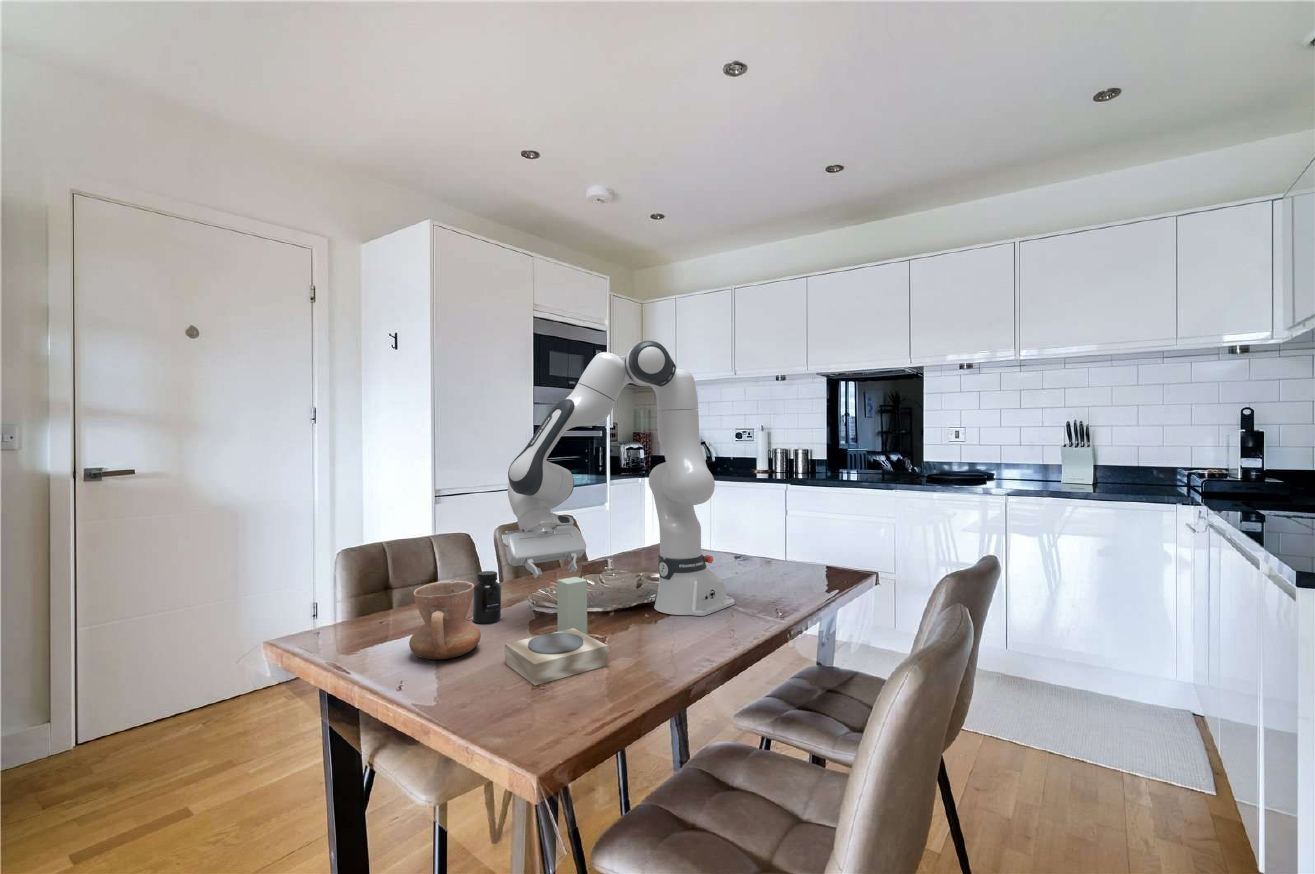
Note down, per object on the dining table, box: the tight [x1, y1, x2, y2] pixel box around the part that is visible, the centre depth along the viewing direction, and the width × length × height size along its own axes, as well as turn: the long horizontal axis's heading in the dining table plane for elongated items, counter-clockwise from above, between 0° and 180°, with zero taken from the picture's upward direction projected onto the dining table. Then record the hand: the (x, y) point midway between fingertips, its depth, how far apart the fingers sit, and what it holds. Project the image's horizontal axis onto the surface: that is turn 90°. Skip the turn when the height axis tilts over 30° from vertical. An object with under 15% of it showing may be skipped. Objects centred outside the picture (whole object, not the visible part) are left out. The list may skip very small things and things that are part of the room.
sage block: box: [556, 576, 588, 635], centre depth 141 cm, size 5×5×13 cm
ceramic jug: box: [408, 580, 482, 660], centre depth 130 cm, size 18×14×14 cm
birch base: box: [504, 628, 609, 686], centre depth 124 cm, size 16×14×5 cm
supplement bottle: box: [472, 570, 502, 625], centre depth 153 cm, size 7×7×12 cm
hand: (556, 573), depth 147 cm, fingers open, 8 cm apart
